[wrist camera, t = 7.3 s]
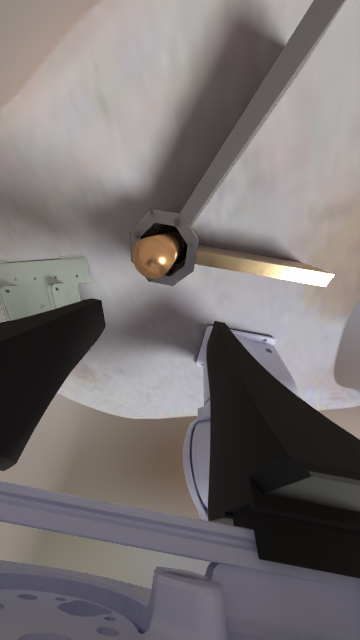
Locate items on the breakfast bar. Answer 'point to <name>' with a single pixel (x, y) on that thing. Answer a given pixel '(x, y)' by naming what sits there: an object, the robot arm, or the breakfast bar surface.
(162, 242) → the hinge pin
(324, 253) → the breakfast bar surface
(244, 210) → the breakfast bar surface
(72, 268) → the metal bracket
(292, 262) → the hinge
